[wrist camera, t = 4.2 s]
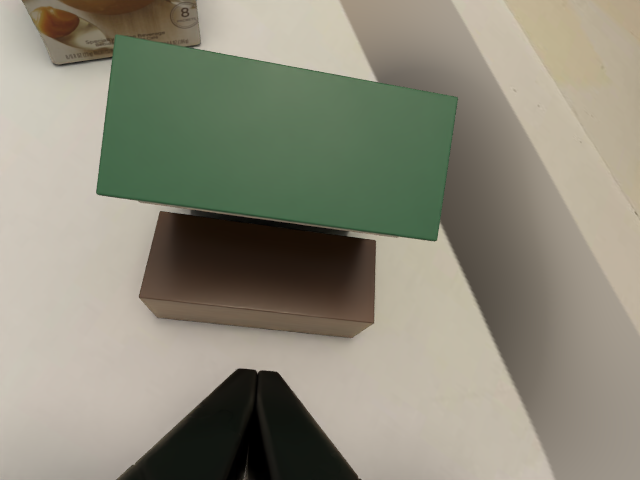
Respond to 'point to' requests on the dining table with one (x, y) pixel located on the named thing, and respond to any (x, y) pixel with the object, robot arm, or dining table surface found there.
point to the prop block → (259, 276)
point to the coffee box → (110, 25)
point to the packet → (273, 141)
